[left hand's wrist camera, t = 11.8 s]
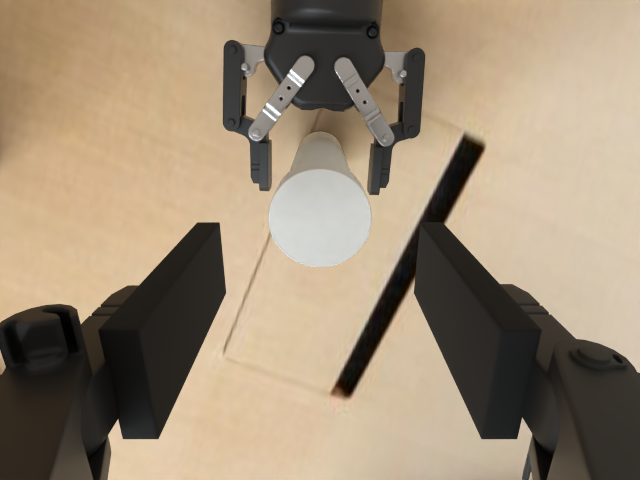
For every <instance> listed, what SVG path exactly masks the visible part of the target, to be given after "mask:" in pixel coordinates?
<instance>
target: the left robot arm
mask: <svg viewBox="0 0 640 480" xmlns="http://www.w3.org/2000/svg"><path fill="white" fill-rule="evenodd" d="M225 294H226V287H225V276H224V266H223V255H222V244H221V233H220V223H197V224H196V225H195V226H194V227H193V228H192V229H191V230H190V231H189V232H188V233H187V234H186V236H185V237H184V238H183V239H182V240H181V241H180V242H179V243H178V244H177V245H176V246H175V247H174V248H173V250H172V251H171V252H170V253H169V254H168V255H167V256H166V257H165V258H164V259H163V260H162V261H161V263H160V264H159V265H158V266H157V267H156V268H155V269H154V270H153V271H152V272H151V273H150V274H149V275H148V277H147V278H146V279H145V280H144V281H143V282H142V283H141V284H140V285H139V286H126V287H125V288H123V289H121V290H119V291H117V292H115V293H113V294H112V295H111V296H110V297H108V298H107V299H106V300H105V301H104V302H103V303H102V304H101V307H98V308H97V309H96V310H95V311H94V312H93V313H92V316H89V317H88V318H87V319H86V320H85V321H84V322H83V323H82V324H80V320H79V316H78V312H77V309H75V308H74V307H72V306H70V305H63V304H55V305H44V306H40V307H35V308H31V309H28V310H25V311H22V312H20V313H17V314H14V315H13V316H11V317H9V318H7V319H5V320H3V321H2V322H1V323H0V350H1V353H2V356H3V359H4V362H5V365H6V368H5V370H4V372H3V374H2V375H0V480H107V479H108V472H109V465H110V458H111V448H110V442H109V438H108V434H109V432H110V431H111V429H112V428H113V426H114V424H115V423H116V421H117V419H119V424H120V428H121V433H122V437H123V439H159V437H160V434H161V432H162V430H163V428H164V426H165V424H166V421H167V419H168V417H169V415H170V413H171V411H172V408H173V406H174V404H175V402H176V400H177V398H178V396H179V393H180V391H181V389H182V387H183V385H184V383H185V380H186V378H187V376H188V374H189V372H190V370H191V368H192V365H193V363H194V361H195V359H196V357H197V355H198V352H199V350H200V348H201V346H202V344H203V342H204V339H205V337H206V335H207V333H208V331H209V329H210V327H211V324H212V322H213V320H214V318H215V316H216V314H217V311H218V309H219V307H220V305H221V303H222V301H223V299H224V296H225ZM414 294H415V296H416V299H417V301H418V303H419V305H420V307H421V309H422V311H423V314H424V316H425V318H426V320H427V322H428V324H429V327H430V329H431V331H432V333H433V335H434V337H435V339H436V342H437V344H438V346H439V348H440V350H441V352H442V355H443V357H444V359H445V361H446V363H447V365H448V368H449V370H450V372H451V374H452V376H453V378H454V380H455V383H456V385H457V387H458V389H459V391H460V393H461V396H462V398H463V400H464V402H465V404H466V406H467V408H468V411H469V413H470V415H471V417H472V419H473V421H474V424H475V426H476V428H477V430H478V432H479V434H480V437H481V439H517V437H518V433H519V428H520V424H521V419H522V417H523V419H524V421H525V422H526V424H527V425H528V427H529V429H530V430H531V432H532V438H531V442H530V446H529V450H528V454H527V459H526V463H525V467H524V471H523V477H522V480H529V476H530V472H532V477H533V480H640V373H637V371H636V369H635V368H634V366H633V365H632V364H631V363H630V362H629V361H628V359H627V358H625V357H624V356H622V355H621V354H619V353H618V352H616V351H615V350H613V349H610V348H608V347H606V346H603V345H601V344H598V343H594V342H590V341H587V340H579V339H575V338H574V337H573V336H572V335H571V334H570V333H569V332H568V331H567V330H566V329H565V328H564V327H563V326H562V325H561V324H560V323H559V322H558V321H557V320H556V319H555V318H554V317H553V316H552V315H549V314H548V313H549V312H548V311H547V310H546V309H545V308H544V307H543V306H540V305H539V303H538V302H537V301H536V300H535V299H534V298H533V297H532V296H531V295H530V294H529V293H528V292H526V291H524V290H522V289H520V288H518V287H516V286H514V285H513V284H499V283H498V282H497V281H496V280H495V279H494V278H493V277H492V275H491V274H490V273H489V272H488V271H487V270H486V269H485V268H484V267H483V266H482V265H481V264H480V263H479V261H478V260H477V259H476V258H475V257H474V256H473V255H472V254H471V253H470V252H469V251H468V250H467V248H466V247H465V246H464V245H463V244H462V243H461V242H460V241H459V240H458V239H457V238H456V237H455V236H454V234H453V233H452V232H451V231H450V230H449V229H448V228H447V227H446V226H445V225H444V224H443V223H420V233H419V244H418V255H417V266H416V276H415V287H414Z"/></svg>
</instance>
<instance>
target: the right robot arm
mask: <svg viewBox="0 0 640 480" xmlns="http://www.w3.org/2000/svg"><path fill="white" fill-rule="evenodd" d="M382 3H383V0H271V33H270V37H269V40H268V42H267V44H266V46H255V45H246V44H241V43H239V42H237V41H234V40H230V41H228V42H226V44H225V45H224V73H223V125H224V127H225V128H226V129H227V130H228V131H234V132H237V133H239V134H242V135H244V136H245V137H247V138H248V140H249V142H250V158H251V178H252V180H253V183H259V188H260V191H269V190H270V188H271V184H272V140H269V132H270V130H271V129H272V128H273V126H274V125H275V124H276V122H277V121H278V120H279V118H280V117H281V116H282V115H283V113H284V112H285V111H286V109H287V108H288V107H289V105H290V104H291V103H292V104H293V105H294V106H296V107H298V108H300V109H301V110H314V109H318V108H326V109H329V110H332V111H344V110H347V109H350V108H351V107H353V106H354V107H355V109H356V110H357V112H358V114H359V115H360V117H361V118H362V120H363V121H364V122H365V124H366V126H367V127H368V129H369V130H370V132H371V134H372V135H373V137H374V144H372V143H371V148H370V160H369V172H368V184H367V190H368V193H369V195H379V191H380V188H386V186H387V184H388V182H389V173H390V164H391V154H392V148H393V146H394V145H395V144H396V143H397V142H399V141H402V140H405V139H408V138H415V137H416V136H417V135H418V134H419V132H420V124H421V109H422V95H423V81H424V66H425V53H424V51H423V50H422V49H420V48H414V49H412V50H409V51H406V52H384V50H383V48H382V45H381V41H380V27H381V15H382ZM261 62H265V64H266V65H267V67H268V69H269V70H270V72H271V73H272V75H273V76H274V78H275V79H276V81H277V82H278V84H279V87H278V88H277V90H276V91H275V92H274V94H273V95H272V96H271V98H270V99H269V100H268V102H267V103H266V105H265V106H264V108H263V110H262V111H261V112H260V114H259V115H258V117H257V118H256V119H252V118H250V117H247V116H246V90H247V77H251V76H253V75H254V74H255V73H256V69H257V66H258V64H259V63H261ZM383 67H386V68H388V69H389V71H390V73H391V78H392V80H393V81H394V82H395V83H400V85H399V105H398V122H396V123H393V124H390V125H388V124H387V122H386V120H385V119H384V117H383V116H382V114H381V111H380V109H379V108H378V106H377V104H376V103H375V101H374V99H373V98H372V96H371V95H370V93H369V91H368V90H367V89H368V87H369V86H370V85H371V83H372V82H373V81H374V80H375V78H376V77H377V76H378V74H379V73H380V72H381V71H382V69H383Z"/></svg>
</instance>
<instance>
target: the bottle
mask: <svg viewBox="0 0 640 480" xmlns="http://www.w3.org/2000/svg"><path fill="white" fill-rule="evenodd" d="M310 161H330V162H334V163H337V164H339V165H341V166H343V167H345V168H347V169H348V170H349V171H350V169H349V167H348V164H347V161H346V159H345V156H344V153H343V151H342V148H341V145H340V143H339V141H338V140H337V139H336V138H335V137H334V136H333V135H331V134H329V133H327V132H322V131H318V132H313V133H311V134H309V135H307V136H306V137H305V138H304V139H303V140H302V141H301V143H300V145H299V148H298V151H297V153H296V156H295V159H294V161H293V164H292V167H291V169H290V171H291V170H292V169H293V168H295V167H297V166H299V165H301V164H303V163H306V162H310Z"/></svg>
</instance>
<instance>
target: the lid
mask: <svg viewBox="0 0 640 480" xmlns="http://www.w3.org/2000/svg"><path fill="white" fill-rule="evenodd" d="M268 220H269V228H270V232H271V235H272V237H273V239H274V241H275V243H276V244H277V246H278V247H279V248H280V250H281V251H282V252H283V253H284V254H286V255H287V256H288V257H289V258H291V259H292V260H294V261H296V262H298V263H301V264H303V265H307V266H311V267H329V266H333V265H337V264H339V263H342V262H344V261H346V260H348V259H349V258H351V257H352V256H353V255H355V254H356V253H357V252H358V251H359V250H360V248H361V247H362V246H363V244H364V243H365V241H366V239H367V237H368V235H369V232H370V228H371V220H372V215H371V208H370V204H369V201H368V199H367V196H366V194H365V192H364V189H363V187H362V185H361V184H360V182H359V180H358V179H357V178H356V176H355V175H354V174H353V173H352V172H350V171H349V170H348V169H347V168H345V167H343V166H341V165H339V164H337V163H334V162H330V161H310V162H306V163H303V164H301V165H299V166H297V167H295V168H293V169H292V170H291V171H290V172H288V173H287V174H286V175H285V176H284V178H283V179H282V180H281V182H280V184H279V185H278V187H277V190H276V192H275V194H274V196H273V199H272V201H271V204H270V208H269V216H268Z"/></svg>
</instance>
